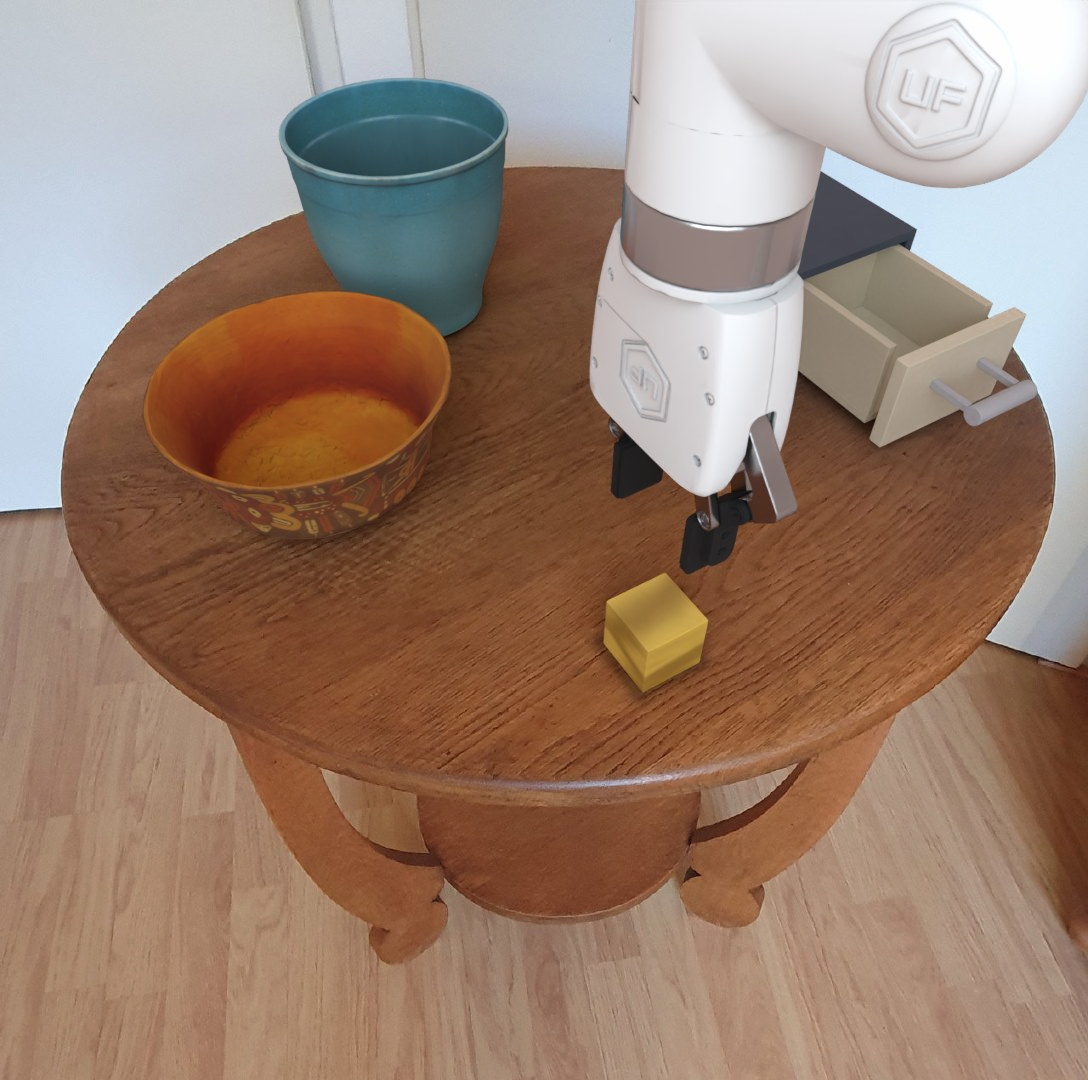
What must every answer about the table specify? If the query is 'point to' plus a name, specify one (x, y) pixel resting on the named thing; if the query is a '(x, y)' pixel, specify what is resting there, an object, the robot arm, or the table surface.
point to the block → (654, 631)
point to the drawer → (907, 344)
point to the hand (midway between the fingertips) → (670, 520)
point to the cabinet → (847, 229)
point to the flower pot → (403, 189)
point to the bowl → (302, 409)
